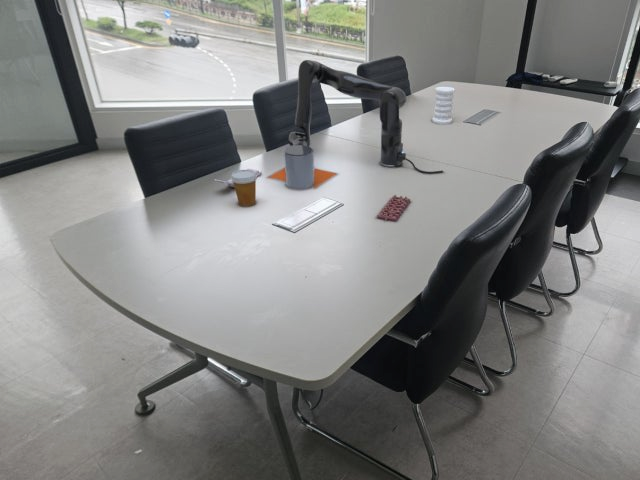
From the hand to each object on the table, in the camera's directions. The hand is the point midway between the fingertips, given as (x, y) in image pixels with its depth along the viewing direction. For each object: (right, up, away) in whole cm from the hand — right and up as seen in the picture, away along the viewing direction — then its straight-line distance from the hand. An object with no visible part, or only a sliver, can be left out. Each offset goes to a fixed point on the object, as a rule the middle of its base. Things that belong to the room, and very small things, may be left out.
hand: (300, 165), depth 215 cm
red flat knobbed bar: (+39, -22, -22) cm, 50 cm away
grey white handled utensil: (-25, -8, -2) cm, 26 cm away
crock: (+1, -8, -2) cm, 8 cm away
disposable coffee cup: (-18, -19, -18) cm, 32 cm away
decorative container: (+71, +43, +79) cm, 115 cm away
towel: (0, -3, +6) cm, 7 cm away
